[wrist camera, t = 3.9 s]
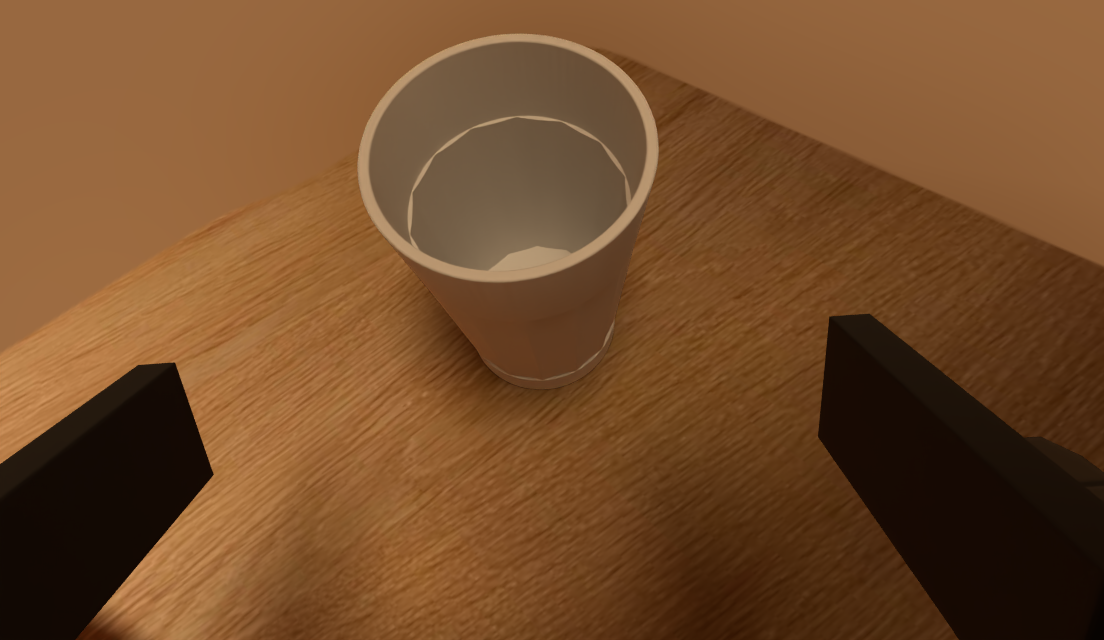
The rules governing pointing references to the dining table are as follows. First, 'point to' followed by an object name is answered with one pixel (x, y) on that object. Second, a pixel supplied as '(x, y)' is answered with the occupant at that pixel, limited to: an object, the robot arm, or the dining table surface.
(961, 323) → the dining table surface
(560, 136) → the cup
